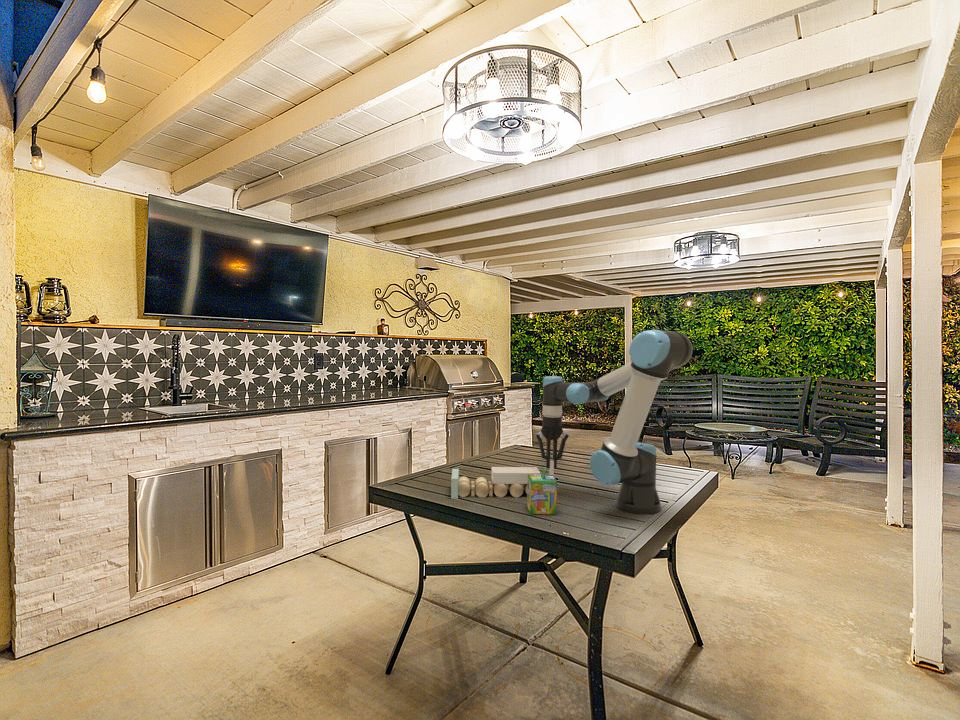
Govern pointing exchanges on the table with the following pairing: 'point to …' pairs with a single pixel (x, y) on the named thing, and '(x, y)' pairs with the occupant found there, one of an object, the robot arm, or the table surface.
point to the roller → (481, 487)
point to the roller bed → (490, 488)
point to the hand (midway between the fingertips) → (551, 476)
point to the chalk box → (542, 493)
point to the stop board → (454, 483)
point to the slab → (512, 474)
